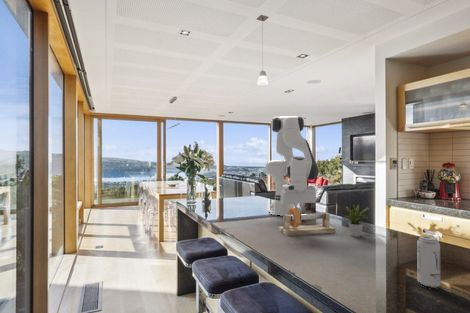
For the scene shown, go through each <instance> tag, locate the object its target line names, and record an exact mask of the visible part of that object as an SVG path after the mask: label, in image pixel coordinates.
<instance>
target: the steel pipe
mask: <svg viewBox="0 0 470 313" xmlns="http://www.w3.org/2000/svg"><path fill="white" fill-rule="evenodd" d="M289 216H290V221H292V220H294V216H293V215H291V214H290V215H289ZM284 217H285V216H284ZM325 218H326V215H325V213H322V212H321V213H320V212H319V213H317V212H316V214H300V220H307V219H316V220H320V219H321V220H322V219H325ZM284 220H286V218H285V219H284Z"/></svg>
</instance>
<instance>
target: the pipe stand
mask: <svg viewBox="0 0 470 313" xmlns="http://www.w3.org/2000/svg"><path fill="white" fill-rule="evenodd" d="M321 213H325V215H326V218H325V219H321V220H322V221H321V222H322V223H316V224H300V225H299V226H298V227H296V228H293V227H292V226H290V216H289V215H287V214H283V216H282V226H281V225H280V226H278V231H279V232H281V233H282V234H284V235H285V236H287V237H289V236H290V237H291V236H305V235H319V234H331V233H332V234H333V233H336V228H335V227H332V226H331V224H330V218H331V217H330V213H329V212H321ZM284 216H285V217H284ZM285 218H286V220H284V219H285Z"/></svg>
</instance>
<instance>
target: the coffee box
mask: <svg viewBox="0 0 470 313" xmlns="http://www.w3.org/2000/svg"><path fill="white" fill-rule="evenodd" d="M316 205H317V201H316V202H315V203H304V206H303V207H302V211H301V212H299V213H300V214H316V213H317V206H316ZM312 224H317V219H307V220H300V225H312Z"/></svg>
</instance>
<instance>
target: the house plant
mask: <svg viewBox="0 0 470 313" xmlns="http://www.w3.org/2000/svg"><path fill="white" fill-rule="evenodd" d="M352 204H353V208H352V209H350V207H348V206H346V205H345V208H346V210H347V213H348V214H349V215H345V217H346V218H348V219H349V220H350V221H349V222H348V230H349V234H350V236H352V237H356V238H357V237H361V236H362V234H363V233H362V232H363V226H364V223H362V222H361V220H365V219H367V220H369V219H368V218H369V217H368V216H367V217H366V216H365V214H363V213H365V212H366V211H367V210H368V207H366V208H363V210H361V211H360V205H359V204H357V206H356V207H355V204H354V203H352ZM359 211H360V212H359Z"/></svg>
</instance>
